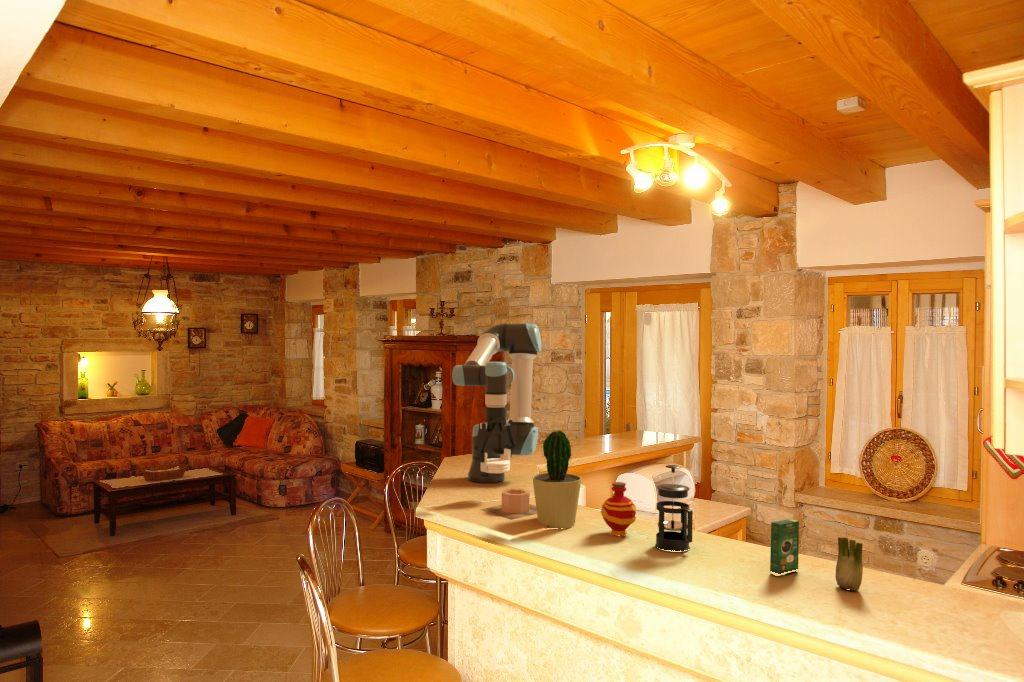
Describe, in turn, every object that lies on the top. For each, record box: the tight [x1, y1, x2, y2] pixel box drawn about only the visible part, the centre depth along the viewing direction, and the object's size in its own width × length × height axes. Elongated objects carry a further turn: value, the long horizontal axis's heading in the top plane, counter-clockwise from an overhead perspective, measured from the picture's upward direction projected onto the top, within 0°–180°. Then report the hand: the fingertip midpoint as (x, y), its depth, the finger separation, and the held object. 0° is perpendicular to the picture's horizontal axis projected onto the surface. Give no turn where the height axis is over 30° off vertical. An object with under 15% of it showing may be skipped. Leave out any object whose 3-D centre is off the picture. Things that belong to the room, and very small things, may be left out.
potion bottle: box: [600, 481, 637, 536], centre depth 203 cm, size 10×10×15 cm
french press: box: [655, 464, 694, 551], centre depth 190 cm, size 12×9×23 cm
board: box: [479, 503, 537, 520], centre depth 225 cm, size 18×16×1 cm
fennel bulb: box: [835, 536, 864, 591], centre depth 159 cm, size 6×5×12 cm
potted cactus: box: [532, 429, 582, 530], centre depth 213 cm, size 15×15×30 cm
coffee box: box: [769, 518, 800, 574], centre depth 170 cm, size 8×3×13 cm, turn 122°
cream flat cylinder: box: [486, 458, 511, 473], centre depth 238 cm, size 10×10×4 cm
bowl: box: [501, 488, 530, 514], centre depth 225 cm, size 9×9×6 cm
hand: (495, 469), depth 238 cm, fingers closed on cream flat cylinder, 10 cm apart
